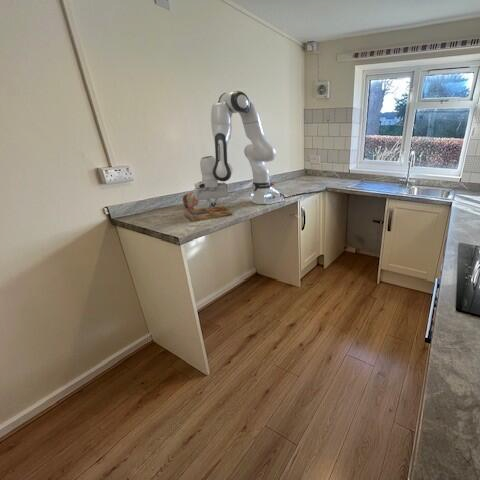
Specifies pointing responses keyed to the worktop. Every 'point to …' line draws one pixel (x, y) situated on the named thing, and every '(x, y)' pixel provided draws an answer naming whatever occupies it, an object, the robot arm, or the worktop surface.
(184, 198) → the tin
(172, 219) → the worktop surface
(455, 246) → the worktop surface
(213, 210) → the cutlery tray
